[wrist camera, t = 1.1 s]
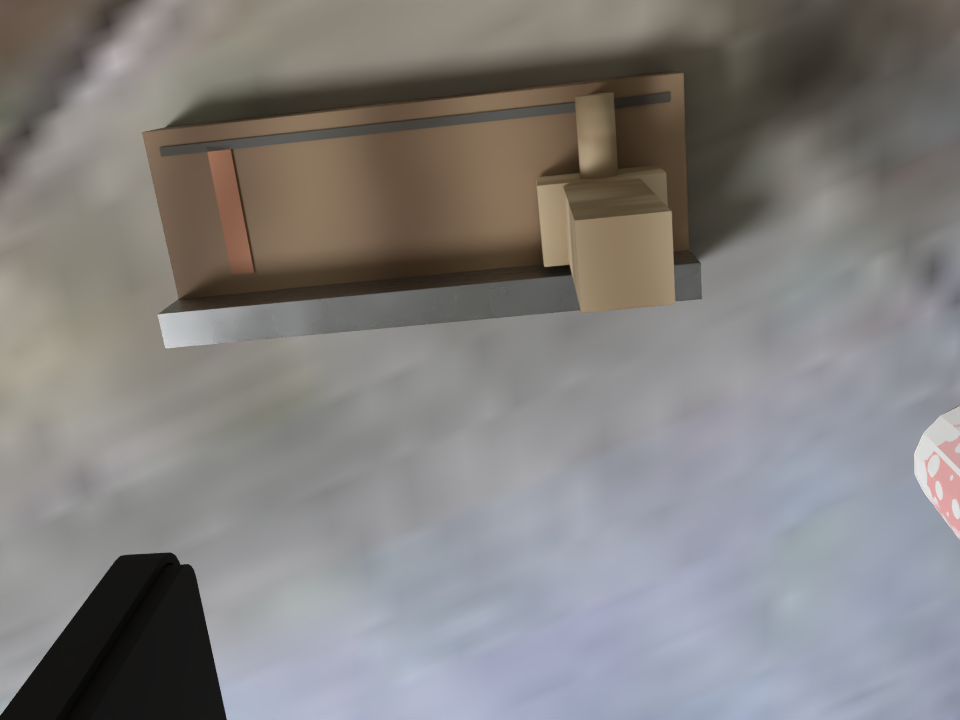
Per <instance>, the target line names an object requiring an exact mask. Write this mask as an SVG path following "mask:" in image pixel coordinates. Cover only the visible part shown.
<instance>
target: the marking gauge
mask: <svg viewBox="0 0 960 720" xmlns="http://www.w3.org/2000/svg"><path fill="white" fill-rule="evenodd" d="M575 109H576V123H577V137H578V151H579V165H580V173H574V174H564V175H555V176H545V177H536V184H537V195H538V207H539V219H540V230H541V242H542V253H543V262H544V267H550V266H560V265H570V268H571V273H572V277H573V281H574V285H575V289H576V293H577V297H578V301H579V305H580V310H581V313H587V312H598V311H609V310H620V309H630V308H641V307H652V306H663V305H674V304H675V283H674V258H673V232H672V211H671V210H670V209H669V208H668V201H667V177H666V172H665V171H664V170H662V169H661V168H660V167H659V166H658V165H652V166H642V167H632V168H623V169H618V162H617V144H616V127H615V110H614V93H597V94H588V95H581V96H575Z"/></svg>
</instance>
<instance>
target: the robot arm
mask: <svg viewBox="0 0 960 720" xmlns="http://www.w3.org/2000/svg"><path fill="white" fill-rule="evenodd" d="M0 720H227V719H226V714H225V710H224V705H223V700H222V696H221V691H220V686H219V682H218V677H217V672H216V668H215V663H214V658H213V654H212V649H211V644H210V640H209V635H208V630H207V626H206V621H205V616H204V612H203V607H202V602H201V598H200V593H199V589H198V584H197V579H196V575H195V572H194V570H193V568H192V566H190V565H189V564H184V565H180V563H179V560H178V559H177V557H176V556H175V555H174V554H172V553H153V554H134V555H123V556H120V557H119V558H118V559H117V560H116V561H115V562H114V563H113V565H112V566H111V567H110V569H109V570H108V571H107V573H106V574H105V576H104V577H103V578H102V580H101V581H100V582H99V584H98V585H97V586H96V588H95V589H94V590H93V592H92V593H91V594H90V596H89V597H88V598H87V600H86V601H85V602H84V604H83V605H82V606H81V608H80V609H79V610H78V612H77V613H76V615H75V616H74V617H73V619H72V620H71V621H70V623H69V624H68V625H67V627H66V628H65V629H64V631H63V632H62V633H61V635H60V636H59V637H58V639H57V640H56V641H55V643H54V644H53V645H52V647H51V648H50V650H49V651H48V652H47V654H46V655H45V656H44V658H43V659H42V660H41V662H40V663H39V664H38V666H37V667H36V668H35V670H34V671H33V672H32V674H31V675H30V676H29V678H28V679H27V680H26V682H25V683H24V684H23V686H22V687H21V689H20V690H19V691H18V693H17V694H16V695H15V697H14V698H13V699H12V701H11V702H10V703H9V705H8V706H7V707H6V709H5V710H4V711H3V713H2V714H1V715H0Z"/></svg>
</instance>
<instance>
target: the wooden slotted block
mask: <svg viewBox="0 0 960 720" xmlns="http://www.w3.org/2000/svg"><path fill="white" fill-rule="evenodd" d="M597 93H614V110H615V127H616V144H617V162H618V169H623V168H632V167H642V166H652V165H658V166H659V167H660V168H661V169H662V170H664V171H665V172H666V177H667V201H668V208H669V209H670V210H671V211H672V232H673V258H674V283H675V301H685V300H696V299H702V293H701V263H700V262H699V260H698V259H697V258H696V257H695V256H694V255H693V254H692V252H691V251H690V250H689V223H688V193H687V163H686V133H685V103H684V73H680V72H665V73H656V74H647V75H638V76H629V77H620V78H611V79H602V80H593V81H584V82H574V83H565V84H556V85H547V86H538V87H529V88H520V89H511V90H502V91H493V92H484V93H474V94H465V95H456V96H447V97H438V98H429V99H420V100H411V101H402V102H393V103H384V104H375V105H365V106H356V107H347V108H338V109H329V110H320V111H311V112H302V113H293V114H284V115H275V116H265V117H256V118H247V119H238V120H229V121H220V122H211V123H202V124H193V125H184V126H175V127H166V128H160V129H156V130H151V131H146V132H142V134H143V139H144V143H145V148H146V152H147V157H148V161H149V166H150V170H151V175H152V179H153V184H154V188H155V193H156V198H157V202H158V207H159V211H160V216H161V220H162V225H163V229H164V234H165V238H166V243H167V247H168V252H169V256H170V261H171V266H172V270H173V275H174V279H175V284H176V288H177V293H178V297H179V299H178V300H177V301H175V302H174V303H173V304H171V305H170V306H169V307H167V308H166V309H164V310H163V311H162V312H160V313H159V314H158V318H159V322H160V327H161V331H162V335H163V340H164V344H165V348H174V347H185V346H196V345H207V344H217V343H228V342H239V341H250V340H261V339H272V338H283V337H294V336H304V335H315V334H326V333H337V332H348V331H359V330H370V329H380V328H391V327H402V326H413V325H424V324H435V323H446V322H457V321H467V320H478V319H489V318H500V317H511V316H522V315H533V314H543V313H554V312H565V311H576V310H580V305H579V301H578V297H577V293H576V289H575V285H574V281H573V277H572V273H571V268H570V265H560V266H550V267H544V262H543V253H542V242H541V230H540V219H539V207H538V195H537V184H536V177H545V176H555V175H564V174H574V173H580V165H579V151H578V137H577V123H576V109H575V96H581V95H588V94H597Z"/></svg>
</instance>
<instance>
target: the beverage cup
mask: <svg viewBox="0 0 960 720" xmlns="http://www.w3.org/2000/svg"><path fill="white" fill-rule="evenodd" d="M914 458H915V476H916V478H917V480H918V482H919V484H920V486H921V488H922V490H923V492H924V493H925V494H926V496H927V497H928V498H929V500H930V501H931V502H932V504H933V505H934V506H935V508H936V509H937V510H938V512H939V513H940V514H941V516H942V517H943V518H944V520H945V521H946V522H947V524H948V525H949V526H950V528H951V529H952V530H953V532H954V533H955V534H956V535H957V537H958V538H959V539H960V406H959V407H957V408H955V409H953V410H951V411H949V412H947V413H945V414H943V415H941V416H940V417H939V418H938V419H937V420H936V421H935V422H934V423H933V424H932V425H931V426H930V427H929V428H928V429H927V430H926V431H925V432H924V433H923V435H922V437H921V440H920V442H919V444H918V447H917V449H916V451H915V453H914Z"/></svg>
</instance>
